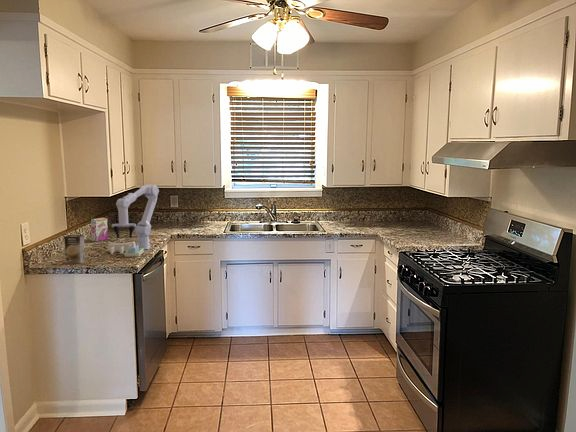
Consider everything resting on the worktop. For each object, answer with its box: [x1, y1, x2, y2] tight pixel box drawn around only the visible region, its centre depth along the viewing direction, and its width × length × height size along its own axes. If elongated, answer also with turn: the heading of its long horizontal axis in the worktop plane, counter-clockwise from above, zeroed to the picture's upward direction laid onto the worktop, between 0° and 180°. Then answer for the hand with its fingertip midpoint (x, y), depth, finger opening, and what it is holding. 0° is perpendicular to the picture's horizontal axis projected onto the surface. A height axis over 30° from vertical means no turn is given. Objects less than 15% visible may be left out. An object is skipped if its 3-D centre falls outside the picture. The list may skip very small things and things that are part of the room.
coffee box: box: [64, 234, 86, 264], centre depth 263 cm, size 9×6×16 cm
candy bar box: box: [90, 217, 109, 242], centre depth 330 cm, size 11×5×16 cm, turn 152°
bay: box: [107, 242, 131, 255], centre depth 291 cm, size 9×13×5 cm
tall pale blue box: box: [129, 241, 139, 253], centre depth 284 cm, size 10×4×8 cm, turn 6°
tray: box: [124, 248, 145, 258], centre depth 285 cm, size 15×9×2 cm, turn 6°
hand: (124, 238), depth 288 cm, fingers open, 7 cm apart
